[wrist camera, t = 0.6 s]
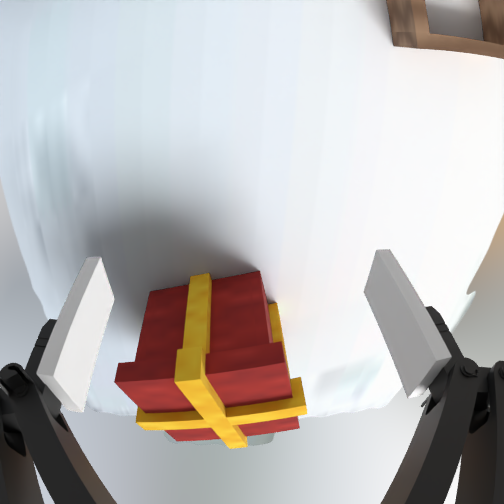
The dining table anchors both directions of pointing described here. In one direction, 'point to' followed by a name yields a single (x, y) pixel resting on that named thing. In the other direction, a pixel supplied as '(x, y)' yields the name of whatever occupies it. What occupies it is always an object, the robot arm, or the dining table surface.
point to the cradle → (418, 35)
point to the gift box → (213, 363)
